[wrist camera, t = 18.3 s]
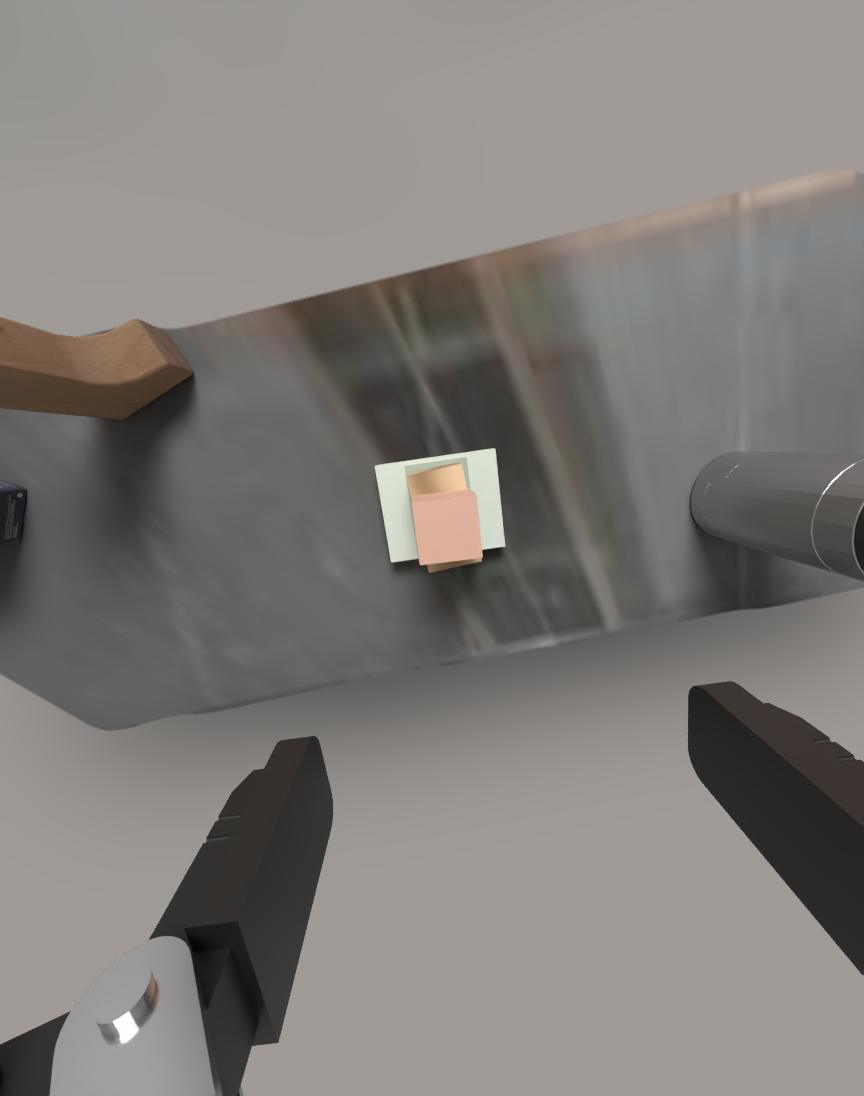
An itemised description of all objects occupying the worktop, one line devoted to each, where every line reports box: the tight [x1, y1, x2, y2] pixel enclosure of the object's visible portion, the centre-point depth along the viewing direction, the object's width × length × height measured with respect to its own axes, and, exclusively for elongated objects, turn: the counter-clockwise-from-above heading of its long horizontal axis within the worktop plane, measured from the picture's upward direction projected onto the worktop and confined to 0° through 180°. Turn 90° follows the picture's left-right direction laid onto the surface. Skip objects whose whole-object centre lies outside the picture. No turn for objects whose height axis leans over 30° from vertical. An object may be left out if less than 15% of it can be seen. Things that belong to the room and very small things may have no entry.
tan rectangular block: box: [406, 462, 482, 573], centre depth 39 cm, size 5×9×5 cm, turn 13°
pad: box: [375, 449, 505, 564], centre depth 43 cm, size 12×11×2 cm
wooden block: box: [0, 317, 193, 420], centre depth 31 cm, size 9×4×18 cm, turn 120°
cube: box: [412, 489, 483, 565], centre depth 34 cm, size 5×5×5 cm
